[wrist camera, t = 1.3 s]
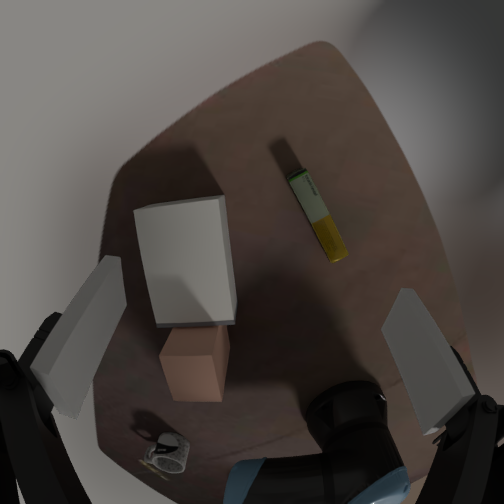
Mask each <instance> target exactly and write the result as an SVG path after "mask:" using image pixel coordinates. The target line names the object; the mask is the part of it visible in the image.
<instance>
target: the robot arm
mask: <svg viewBox="0 0 504 504" xmlns="http://www.w3.org/2000/svg"><path fill="white" fill-rule="evenodd" d="M126 306H127V303H126V297H125V290H124V283H123V275H122V267H121V258H120V257H116V256H108V255H105V256H104V258H103V259H102V260H101V262H100V263H99V264H98V265H97V267H96V268H95V269H94V271H93V272H92V273H91V275H90V276H89V277H88V279H87V280H86V282H85V283H84V284H83V286H82V287H81V288H80V290H79V291H78V293H77V294H76V295H75V297H74V298H73V300H72V301H71V303H70V304H69V306H68V307H67V309H66V310H65V311H64V313H63V314H61V313H57V312H54V313H53V314H51V315H50V316H49V317H47V318H46V319H45V320H44V322H43V323H42V325H41V326H40V327H39V331H38V330H37V332H36V334H35V335H34V338H32V340H31V341H30V343H29V344H28V346H27V347H26V349H25V351H24V352H23V354H22V355H21V357H20V359H19V360H18V362H17V360H16V358H15V357H14V355H13V354H12V353H11V352H10V351H8V350H4V349H3V350H0V504H20V502H19V496H18V490H17V483H16V479H17V482H18V485H19V488H20V490H21V493H22V495H23V498H24V501H25V503H26V504H92V503H91V501H90V499H89V497H88V496H87V494H86V492H85V490H84V488H83V486H82V484H81V482H80V480H79V478H78V476H77V474H76V472H75V470H74V467H73V465H72V463H71V461H70V458H69V456H68V454H67V451H66V449H65V447H64V444H63V442H62V439H61V436H60V434H59V431H58V428H57V426H56V423H55V420H54V417H53V415H52V413H51V411H52V409H53V406H55V407H56V409H57V410H58V412H59V413H60V414H63V415H66V416H68V417H71V418H74V419H77V418H78V415H79V412H80V410H81V407H82V404H83V402H84V399H85V397H86V394H87V392H88V389H89V387H90V384H91V382H92V380H93V377H94V375H95V373H96V370H97V368H98V366H99V363H100V361H101V359H102V357H103V354H104V352H105V350H106V348H107V346H108V343H109V341H110V339H111V337H112V335H113V333H114V331H115V328H116V326H117V324H118V322H119V320H120V318H121V316H122V314H123V312H124V310H125V308H126ZM381 331H382V333H383V335H384V337H385V340H386V342H387V344H388V346H389V349H390V351H391V353H392V356H393V358H394V360H395V363H396V365H397V367H398V370H399V372H400V375H401V377H402V380H403V382H404V385H405V387H406V390H407V392H408V395H409V397H410V400H411V403H412V405H413V408H414V411H415V413H416V416H417V419H418V422H419V424H420V427H421V430H422V433H423V435H427V434H431V433H434V432H437V431H438V430H439V429H440V428H441V427H442V426H444V425H445V426H446V430H445V431H444V432H443V433H442V434H441V435H439V436H438V437H437V438H436V439H435V440H434V441H433V443H432V444H435V443H436V442H437V441H439V440H440V439H441V440H440V443H438V444H437V446H438V449H437V452H436V455H435V458H434V460H433V463H432V466H431V468H430V471H429V473H428V476H427V478H426V481H425V483H424V486H423V488H422V490H421V493H420V495H419V497H418V499H417V501H416V503H415V504H504V444H502V445H501V446H500V447H498V445H497V443H498V442H499V441H500V440H501V439H502V438H504V405H497V403H496V402H495V401H494V399H493V398H492V397H490V396H488V395H481V393H480V391H479V389H478V387H477V386H476V384H475V382H474V380H473V378H472V376H471V374H470V373H469V371H467V367H466V365H465V364H463V360H462V358H461V357H460V355H459V353H458V352H457V351H456V350H455V349H454V348H453V347H452V346H449V344H448V343H447V341H446V339H445V338H444V336H443V334H442V333H441V331H440V329H439V328H438V326H437V325H436V323H435V321H434V320H433V318H432V317H431V315H430V314H429V312H428V310H427V309H426V307H425V306H424V304H423V303H422V301H421V300H420V298H419V297H418V295H417V294H416V292H415V291H414V289H408V288H401V290H400V292H399V294H398V296H397V298H396V300H395V302H394V305H393V307H392V309H391V311H390V313H389V315H388V317H387V319H386V321H385V323H384V325H383V326H382V328H381ZM306 421H307V427H308V430H309V432H310V434H311V435H312V437H313V438H314V440H315V441H316V443H317V444H318V445H319V447H320V448H321V450H322V453H319V454H311V455H303V456H293V457H280V458H267V457H263V458H262V459H249V460H241V461H239V462H237V463H236V464H235V465H234V466H233V467H232V469H231V471H230V474H229V477H228V480H227V484H226V489H225V494H224V501H223V504H400V503H401V502H402V501H403V500H404V499H405V498H406V497H407V495H408V493H409V491H410V481H409V478H408V474H407V468H406V466H404V463H403V461H402V459H401V456H400V454H399V452H398V449H397V447H396V445H395V443H394V440H393V438H392V436H391V434H390V431H389V429H388V426H387V401H386V398H385V396H384V394H383V392H382V390H381V389H380V388H379V387H378V386H377V385H375V384H373V383H370V382H366V381H352V382H347V383H343V384H340V385H337V386H334V387H332V388H330V389H328V390H326V391H325V392H323V393H322V394H320V395H319V396H318V397H317V398H316V399H315V400H314V401H313V402H312V403H311V404H310V406H309V408H308V410H307V413H306Z"/></svg>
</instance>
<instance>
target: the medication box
mask: <svg viewBox="0 0 504 504" xmlns="http://www.w3.org/2000/svg"><path fill="white" fill-rule="evenodd" d="M286 179H287V180H288V182H289V184H290V186H291V188H292V190H293V192H294V194H295V196H296V198H297V200H298V202H299V203H300V205H301V207H302V209H303V211H304V213H305V215H306V216H307V218H308V220H309V222H310V224H311V226H312V228H313V230H314V232H315V234H316V236H317V238H318V240H319V242H320V244H321V246H322V248H323V250H324V252H325V254H326V256H327V258H328V260H329V261H330V262H331V263H335V262H337V261H339V260H341V259H343V258H344V257H346V256H347V255H349V253H348V251H347V249H346V247H345V245H344V242H343V240H342V238H341V236H340V234H339V232H338V230H337V228H336V226H335V224H334V221H333V219H332V217H331V215H330V213H329V211H328V209H327V207H326V205H325V203H324V201H323V199H322V198H321V195H320V194H319V192H318V190H317V188H316V186H315V184H314V182H313V180H312V178H311V176H310V175H309V173H308V171H307V169H306V168H299V169H297V170H295V171H293V172H291V173H290V174H288V175H287V176H286Z"/></svg>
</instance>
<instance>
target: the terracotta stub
mask: <svg viewBox="0 0 504 504" xmlns="http://www.w3.org/2000/svg"><path fill="white" fill-rule="evenodd" d="M229 352H230V343H229V337H228V331H227V325H219V326H199V327H173V329H172V331H171V333H170V335H169V337H168V339H167V341H166V343H165V345H164V347H163V349H162V351H161V353H160V355H159V358H160V361H161V364H162V367H163V370H164V373H165V377H166V380H167V383H168V385H169V388H170V391H171V394H172V397H173V400H174V401H195V402H222V399H223V392H224V385H225V378H226V372H227V365H228V359H229Z"/></svg>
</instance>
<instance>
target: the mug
mask: <svg viewBox="0 0 504 504" xmlns="http://www.w3.org/2000/svg"><path fill="white" fill-rule="evenodd" d="M189 447H190V443H189V441H188V440H187V439H186V438H185V437H183V436H182V435H179V434H177V433H172V432H165V433H162V434H160V436H159V439H158V442H157V444H155V445H152V446H149V447H148V449H147V450H146V453H145V456H144V461H145V462H148V463H152V464H154V465H155V466H156V467H157V468H159V469H161V470H163V471H166V472H170V473H180V472H183V471H184V469H185V464H186V460H187V456H188V451H189ZM153 450H155V451H154V454H153V457H152V458H149V457H150V454H151V452H152V451H153Z"/></svg>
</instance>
